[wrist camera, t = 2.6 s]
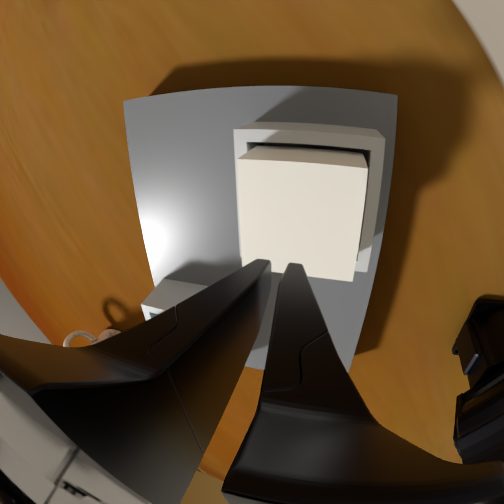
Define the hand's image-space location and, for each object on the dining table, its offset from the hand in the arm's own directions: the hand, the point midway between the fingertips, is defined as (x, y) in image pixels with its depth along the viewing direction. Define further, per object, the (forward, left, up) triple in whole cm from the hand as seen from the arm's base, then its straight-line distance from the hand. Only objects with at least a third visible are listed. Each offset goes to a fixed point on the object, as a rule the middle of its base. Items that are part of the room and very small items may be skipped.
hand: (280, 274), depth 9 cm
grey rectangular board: (+4, +6, -12) cm, 14 cm away
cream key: (0, 0, -7) cm, 7 cm away
